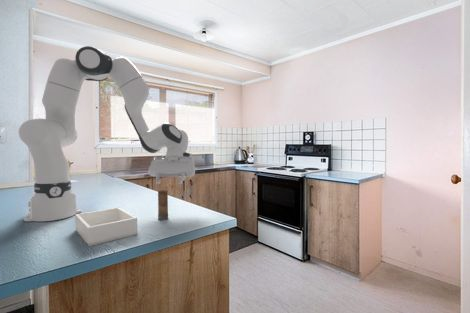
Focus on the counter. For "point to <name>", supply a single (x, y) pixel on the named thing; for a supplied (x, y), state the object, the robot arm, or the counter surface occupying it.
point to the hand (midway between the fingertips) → (168, 183)
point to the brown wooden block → (162, 205)
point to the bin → (105, 225)
